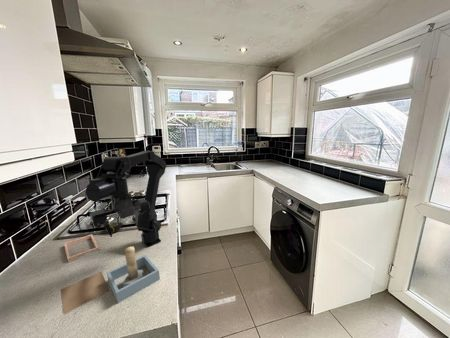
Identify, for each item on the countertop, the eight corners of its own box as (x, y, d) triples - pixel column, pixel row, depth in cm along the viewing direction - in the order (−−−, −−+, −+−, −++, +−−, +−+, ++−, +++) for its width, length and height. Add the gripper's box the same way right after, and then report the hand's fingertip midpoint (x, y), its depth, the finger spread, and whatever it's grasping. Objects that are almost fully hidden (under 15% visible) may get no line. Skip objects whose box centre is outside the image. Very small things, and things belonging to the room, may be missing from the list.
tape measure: (124, 227, 103) (123, 221, 102) (116, 234, 96) (115, 227, 95) (111, 227, 103) (110, 221, 102) (103, 234, 96) (102, 227, 95)
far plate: (101, 274, 68) (101, 271, 68) (110, 293, 60) (109, 290, 60) (61, 292, 61) (60, 289, 61) (64, 317, 52) (63, 314, 52)
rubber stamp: (132, 275, 66) (127, 244, 64) (143, 274, 67) (139, 243, 64) (123, 289, 61) (118, 255, 58) (136, 288, 61) (131, 254, 58)
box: (146, 265, 72) (145, 255, 71) (160, 282, 64) (158, 270, 63) (108, 284, 64) (106, 272, 63) (118, 306, 55) (116, 293, 54)
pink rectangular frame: (92, 236, 94) (92, 234, 94) (99, 250, 83) (98, 247, 82) (64, 246, 87) (64, 243, 87) (68, 262, 76) (67, 258, 75)
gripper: (92, 204, 57) (100, 252, 60) (154, 190, 69) (158, 230, 72) (86, 196, 65) (93, 238, 68) (142, 184, 77) (146, 220, 80)
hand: (125, 231), depth 72 cm, fingers open, 9 cm apart
